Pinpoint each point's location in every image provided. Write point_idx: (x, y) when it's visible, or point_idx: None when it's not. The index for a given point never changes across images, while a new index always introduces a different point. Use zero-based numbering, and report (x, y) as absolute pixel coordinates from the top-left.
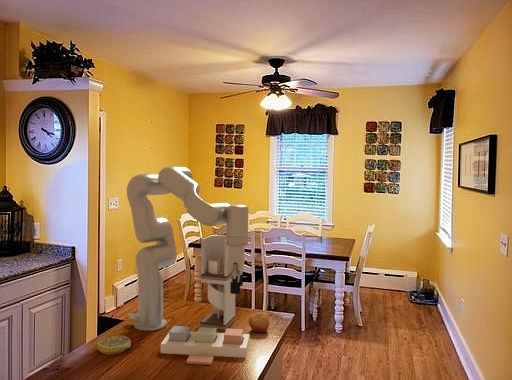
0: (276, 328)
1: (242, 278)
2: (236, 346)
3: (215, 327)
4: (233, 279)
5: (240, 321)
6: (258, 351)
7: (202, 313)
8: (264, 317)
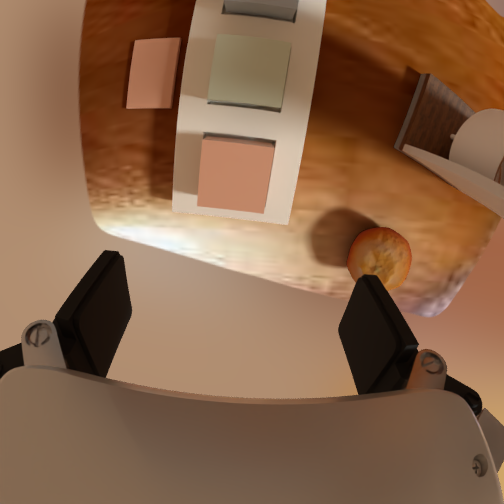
0: None
1: (355, 377)
2: (182, 181)
3: (408, 117)
4: (12, 361)
5: (441, 200)
6: (223, 236)
7: (496, 106)
8: None
